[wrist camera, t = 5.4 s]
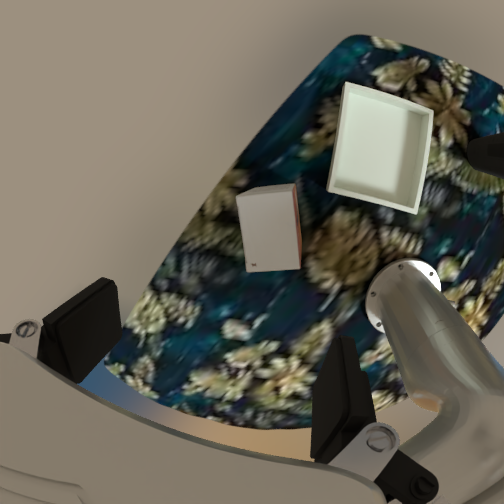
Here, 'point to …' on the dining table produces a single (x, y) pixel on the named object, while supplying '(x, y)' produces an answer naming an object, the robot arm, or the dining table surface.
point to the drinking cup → (487, 154)
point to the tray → (380, 148)
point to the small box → (270, 228)
